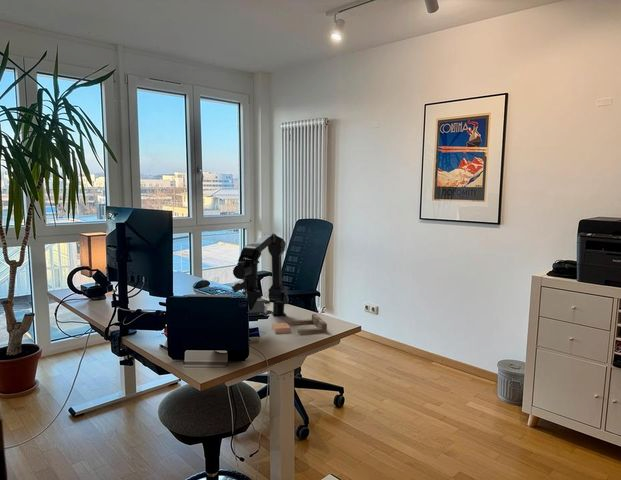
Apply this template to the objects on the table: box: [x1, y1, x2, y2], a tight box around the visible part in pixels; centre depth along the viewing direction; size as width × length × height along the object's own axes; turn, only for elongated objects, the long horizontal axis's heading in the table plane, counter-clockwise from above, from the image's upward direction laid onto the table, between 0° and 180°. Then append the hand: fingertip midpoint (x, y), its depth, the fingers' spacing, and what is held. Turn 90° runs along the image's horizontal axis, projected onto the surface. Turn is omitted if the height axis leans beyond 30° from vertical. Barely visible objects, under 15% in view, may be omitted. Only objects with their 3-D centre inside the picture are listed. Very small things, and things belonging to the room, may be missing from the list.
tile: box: [271, 322, 291, 334], centre depth 196 cm, size 7×7×2 cm
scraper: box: [248, 298, 268, 314], centre depth 190 cm, size 13×7×5 cm, turn 109°
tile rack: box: [289, 313, 328, 335], centre depth 201 cm, size 15×13×4 cm
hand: (249, 309), depth 190 cm, fingers closed on scraper, 3 cm apart
